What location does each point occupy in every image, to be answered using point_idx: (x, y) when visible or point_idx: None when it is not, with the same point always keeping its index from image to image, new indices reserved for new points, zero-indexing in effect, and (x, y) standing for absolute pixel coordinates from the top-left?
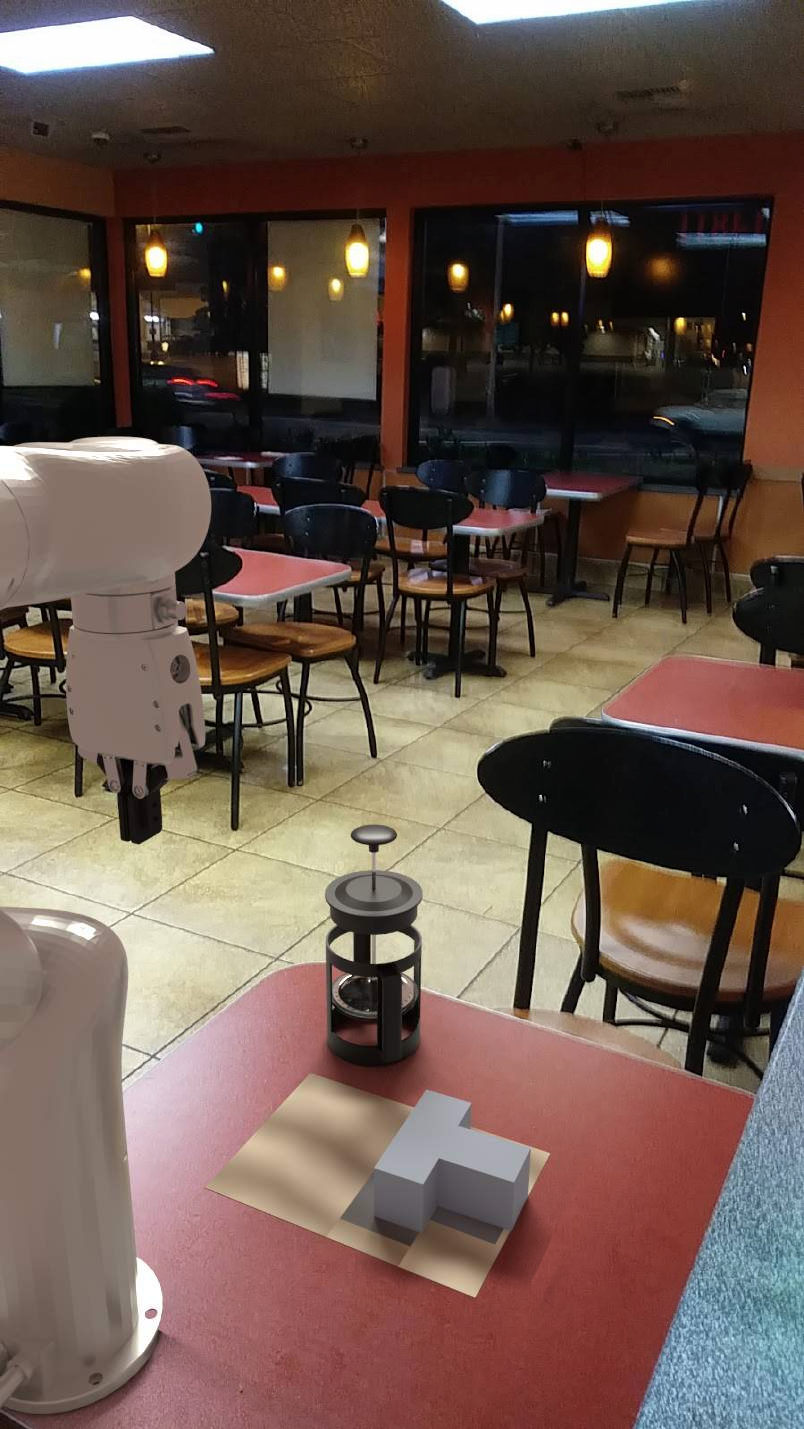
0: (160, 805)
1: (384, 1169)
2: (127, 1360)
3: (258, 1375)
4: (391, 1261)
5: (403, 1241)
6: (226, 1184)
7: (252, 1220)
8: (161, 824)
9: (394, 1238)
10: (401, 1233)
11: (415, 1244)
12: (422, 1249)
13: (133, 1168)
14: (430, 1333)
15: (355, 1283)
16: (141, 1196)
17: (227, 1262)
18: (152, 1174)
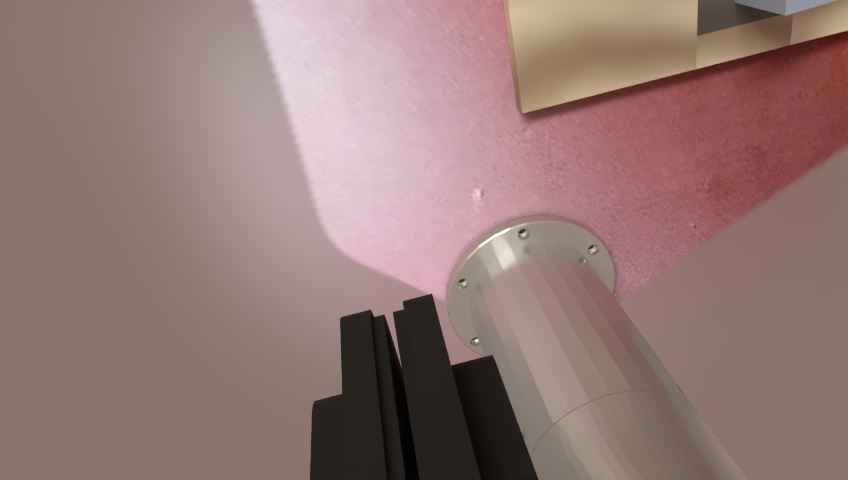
0: (521, 433)
1: (800, 8)
2: (608, 286)
3: (699, 209)
4: (780, 45)
5: None
6: (541, 91)
7: None
8: (492, 356)
9: (771, 15)
10: None
11: None
12: None
13: (402, 134)
14: (830, 72)
15: (735, 77)
16: (449, 154)
17: (599, 149)
18: (430, 124)
